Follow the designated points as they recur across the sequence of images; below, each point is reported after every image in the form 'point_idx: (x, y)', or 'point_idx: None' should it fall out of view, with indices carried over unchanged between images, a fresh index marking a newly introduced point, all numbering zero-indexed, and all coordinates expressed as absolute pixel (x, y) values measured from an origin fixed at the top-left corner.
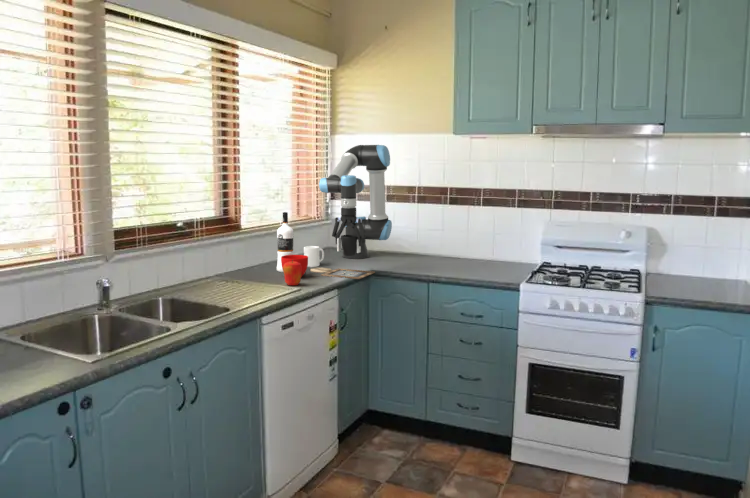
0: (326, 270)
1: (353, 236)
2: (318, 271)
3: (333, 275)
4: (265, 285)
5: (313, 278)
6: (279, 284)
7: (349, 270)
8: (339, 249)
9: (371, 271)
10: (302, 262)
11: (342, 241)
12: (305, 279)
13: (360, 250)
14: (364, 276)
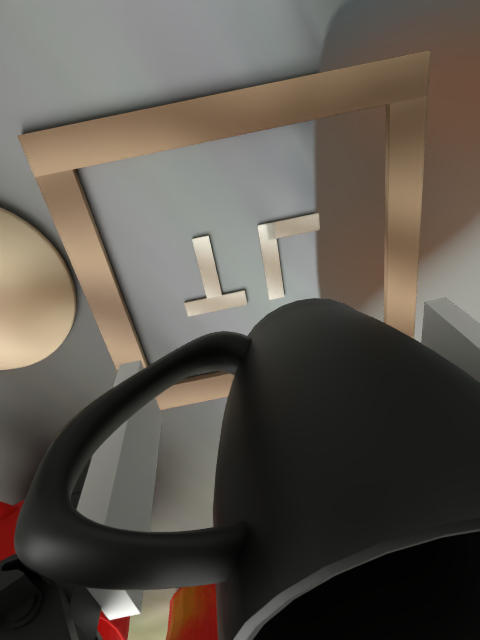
0: (46, 299)
1: (446, 489)
2: (38, 361)
3: (224, 391)
4: (130, 630)
5: (171, 477)
6: (156, 603)
7: (172, 147)
8: (151, 410)
9: (391, 69)
10: (129, 618)
11: (302, 603)
12: (158, 510)
13: (460, 310)
14: (415, 287)
